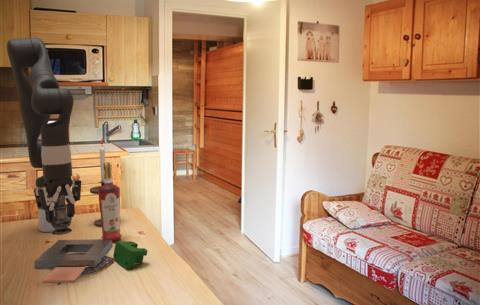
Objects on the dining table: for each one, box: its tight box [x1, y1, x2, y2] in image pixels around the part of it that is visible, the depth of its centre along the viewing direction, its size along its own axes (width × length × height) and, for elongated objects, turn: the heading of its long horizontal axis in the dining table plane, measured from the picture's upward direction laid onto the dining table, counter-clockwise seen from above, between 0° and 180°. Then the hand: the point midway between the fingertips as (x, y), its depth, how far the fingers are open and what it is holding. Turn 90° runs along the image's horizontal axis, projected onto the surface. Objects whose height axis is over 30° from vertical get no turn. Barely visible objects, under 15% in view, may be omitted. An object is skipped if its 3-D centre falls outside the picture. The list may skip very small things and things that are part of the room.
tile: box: [41, 267, 87, 283], centre depth 122 cm, size 9×9×1 cm
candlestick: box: [89, 137, 106, 228], centre depth 168 cm, size 11×11×35 cm
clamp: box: [112, 240, 149, 270], centre depth 131 cm, size 12×6×9 cm, turn 33°
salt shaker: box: [51, 195, 73, 236], centre depth 120 cm, size 6×6×12 cm
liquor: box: [97, 161, 122, 243], centre depth 149 cm, size 7×7×28 cm
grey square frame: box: [33, 238, 113, 270], centre depth 136 cm, size 18×18×2 cm
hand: (60, 219), depth 120 cm, fingers closed on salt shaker, 6 cm apart
